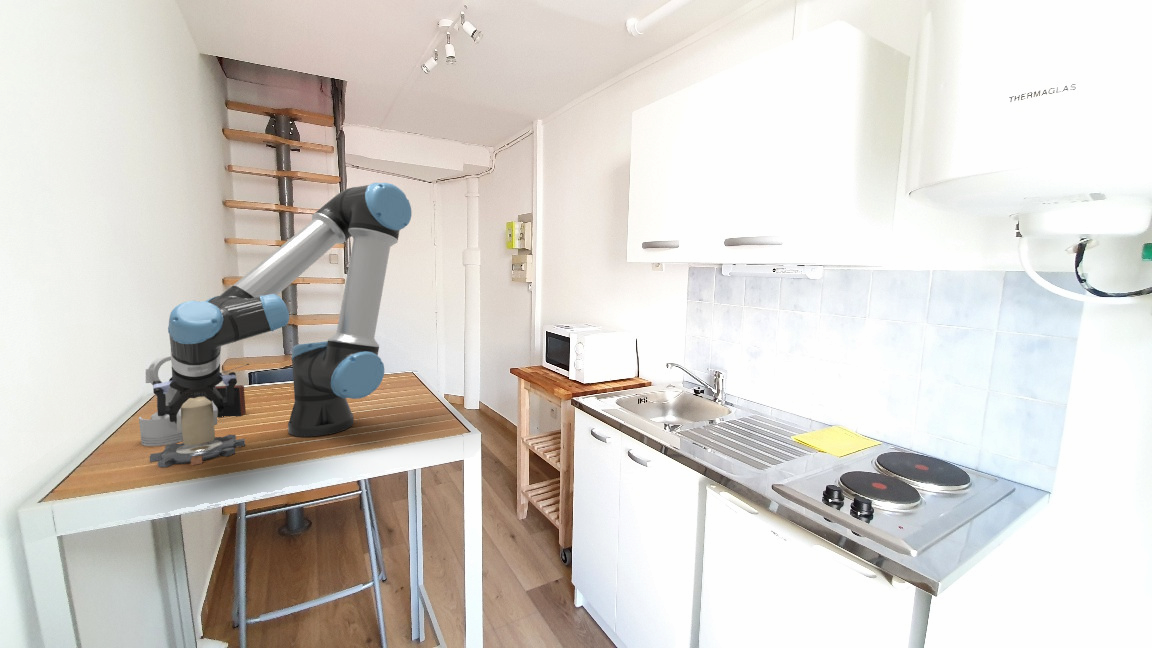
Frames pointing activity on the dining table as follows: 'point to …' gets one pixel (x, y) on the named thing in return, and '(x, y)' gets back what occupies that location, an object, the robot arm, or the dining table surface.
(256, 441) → the dining table surface
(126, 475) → the dining table surface
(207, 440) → the candle
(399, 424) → the dining table surface
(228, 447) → the sprocket
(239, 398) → the radio
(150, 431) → the engine component
